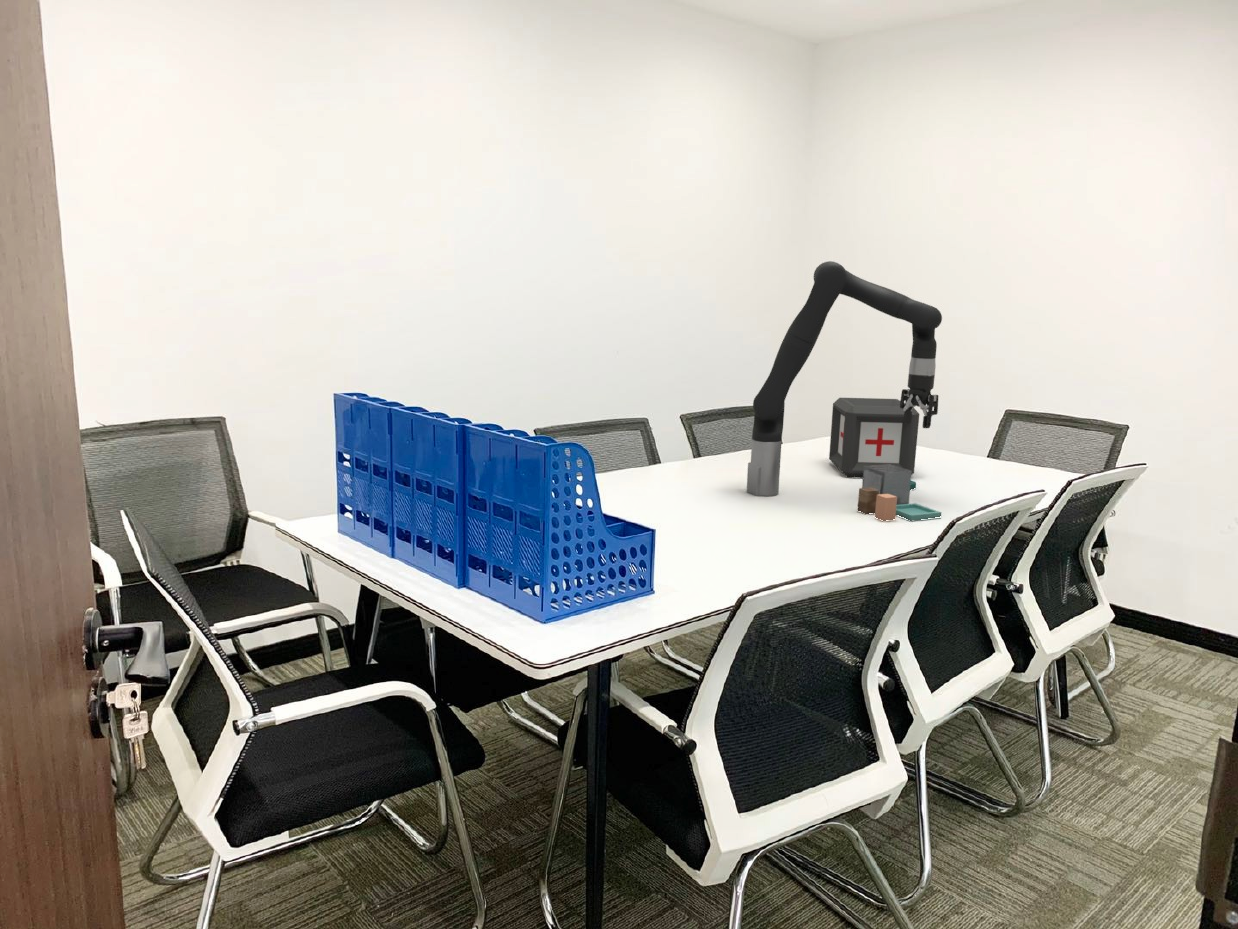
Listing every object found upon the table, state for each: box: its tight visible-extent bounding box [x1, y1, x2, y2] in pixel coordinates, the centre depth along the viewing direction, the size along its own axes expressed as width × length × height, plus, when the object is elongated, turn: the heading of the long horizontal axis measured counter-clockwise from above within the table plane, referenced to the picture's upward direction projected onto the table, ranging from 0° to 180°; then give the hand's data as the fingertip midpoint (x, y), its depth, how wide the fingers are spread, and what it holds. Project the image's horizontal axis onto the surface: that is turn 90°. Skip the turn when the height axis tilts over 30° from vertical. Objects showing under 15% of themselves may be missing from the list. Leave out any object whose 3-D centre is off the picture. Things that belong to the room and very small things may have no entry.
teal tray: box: [896, 502, 942, 522], centre depth 265 cm, size 11×11×2 cm
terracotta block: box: [874, 494, 897, 522], centre depth 260 cm, size 4×4×7 cm
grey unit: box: [861, 464, 912, 505], centre depth 277 cm, size 11×10×11 cm
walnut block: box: [857, 487, 879, 515], centre depth 267 cm, size 4×4×7 cm
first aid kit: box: [828, 397, 920, 478], centre depth 321 cm, size 25×25×25 cm
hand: (916, 425), depth 277 cm, fingers open, 8 cm apart
